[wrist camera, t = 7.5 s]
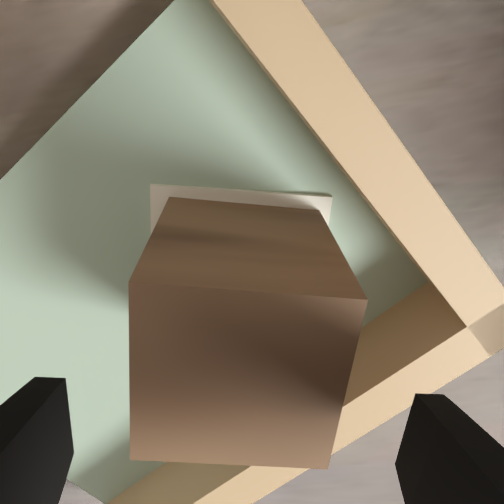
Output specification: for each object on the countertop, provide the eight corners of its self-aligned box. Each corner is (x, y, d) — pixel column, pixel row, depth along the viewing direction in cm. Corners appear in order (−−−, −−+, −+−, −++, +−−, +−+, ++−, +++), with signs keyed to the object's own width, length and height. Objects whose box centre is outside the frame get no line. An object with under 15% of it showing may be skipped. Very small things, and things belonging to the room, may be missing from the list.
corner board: (468, 270, 18) (533, 329, 14) (134, 497, 22) (113, 589, 18) (233, -52, 13) (233, -97, 9) (-126, 317, 18) (-228, 390, 14)
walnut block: (298, 335, 17) (327, 469, 11) (165, 325, 16) (129, 460, 11) (319, 209, 15) (367, 299, 9) (169, 196, 15) (128, 281, 9)
